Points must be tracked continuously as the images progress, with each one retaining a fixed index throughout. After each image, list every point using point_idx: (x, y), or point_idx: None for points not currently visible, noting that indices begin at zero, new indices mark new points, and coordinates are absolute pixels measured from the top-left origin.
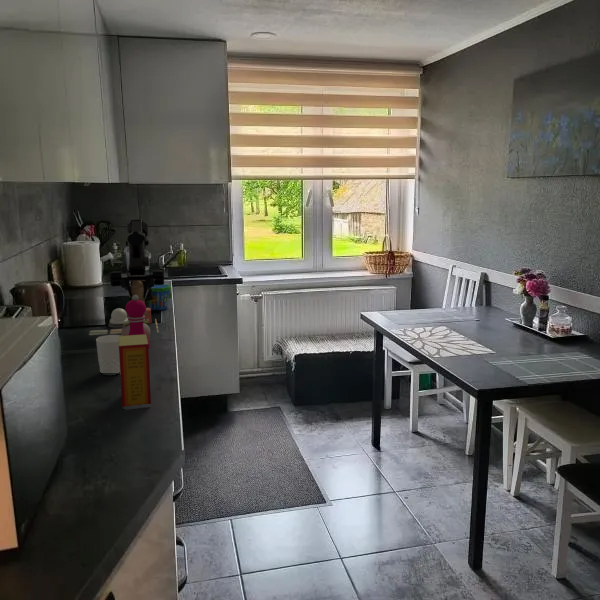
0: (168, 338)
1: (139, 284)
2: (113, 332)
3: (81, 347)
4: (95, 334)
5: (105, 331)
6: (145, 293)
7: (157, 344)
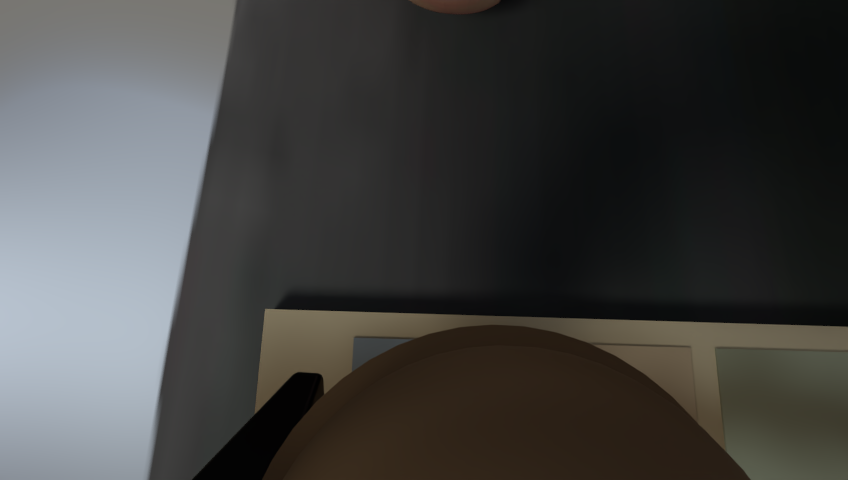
0: (217, 166)
1: (427, 386)
2: (666, 384)
3: (837, 103)
4: (814, 355)
5: (744, 446)
6: (269, 416)
7: (322, 34)
